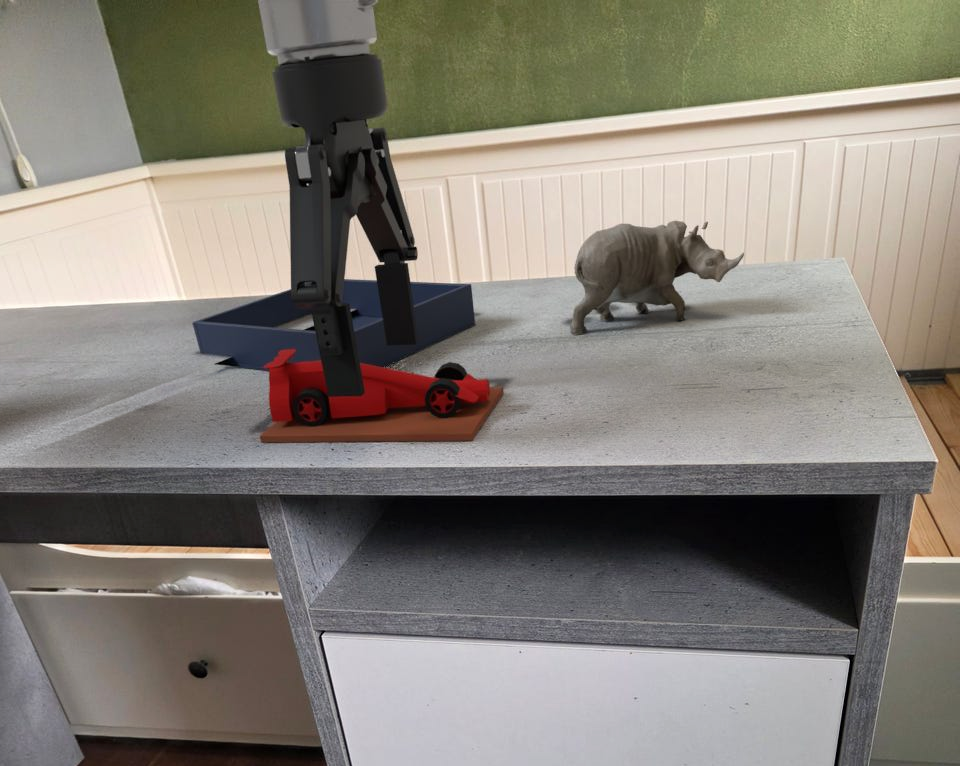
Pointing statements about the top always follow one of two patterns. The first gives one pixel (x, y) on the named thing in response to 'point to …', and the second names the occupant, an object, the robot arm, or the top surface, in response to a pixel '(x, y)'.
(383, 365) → the blue tray
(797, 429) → the top surface
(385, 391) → the toy car
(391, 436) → the mat
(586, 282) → the rhinoceros figurine
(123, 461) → the top surface
